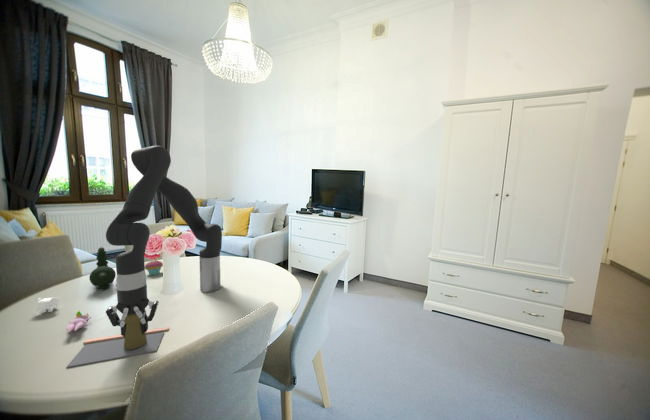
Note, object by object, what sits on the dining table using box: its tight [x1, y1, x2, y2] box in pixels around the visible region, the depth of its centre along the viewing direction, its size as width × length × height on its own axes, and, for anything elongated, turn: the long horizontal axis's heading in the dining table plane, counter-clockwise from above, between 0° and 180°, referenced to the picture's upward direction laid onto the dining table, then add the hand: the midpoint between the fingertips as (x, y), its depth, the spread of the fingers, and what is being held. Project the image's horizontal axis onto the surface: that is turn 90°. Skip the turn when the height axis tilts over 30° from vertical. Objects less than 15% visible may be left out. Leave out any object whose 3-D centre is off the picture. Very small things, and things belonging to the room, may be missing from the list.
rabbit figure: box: [65, 310, 92, 333], centre depth 89 cm, size 6×6×15 cm
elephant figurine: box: [34, 296, 60, 314], centre depth 99 cm, size 7×8×6 cm
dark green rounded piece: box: [88, 247, 117, 291], centre depth 123 cm, size 9×19×25 cm
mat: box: [66, 331, 165, 369], centre depth 80 cm, size 22×10×1 cm, turn 111°
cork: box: [124, 312, 147, 349], centre depth 80 cm, size 6×6×11 cm
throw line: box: [82, 326, 170, 345], centre depth 86 cm, size 24×2×1 cm, turn 111°
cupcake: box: [145, 256, 164, 276], centre depth 140 cm, size 9×8×12 cm
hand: (135, 334), depth 81 cm, fingers open, 4 cm apart
